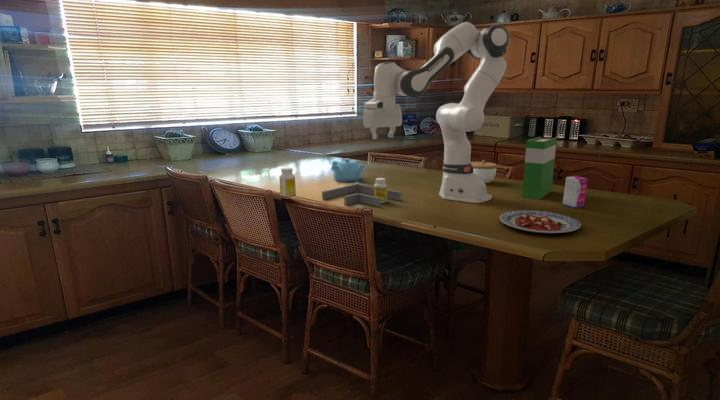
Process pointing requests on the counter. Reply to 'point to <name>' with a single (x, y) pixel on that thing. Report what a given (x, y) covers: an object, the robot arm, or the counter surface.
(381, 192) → the supplement bottle
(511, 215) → the ceramic plate
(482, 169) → the lidded bowl
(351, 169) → the teapot
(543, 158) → the green white carton
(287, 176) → the supplement bottle
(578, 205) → the supplement box
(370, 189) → the guide walls
